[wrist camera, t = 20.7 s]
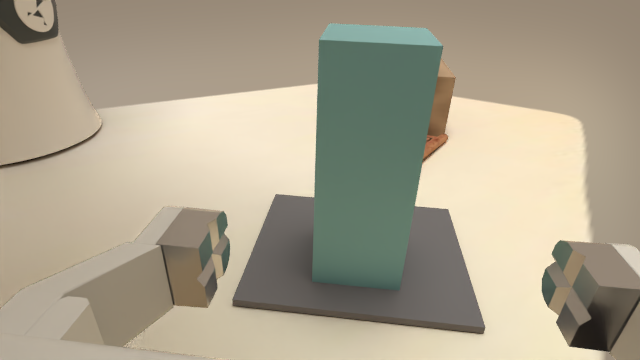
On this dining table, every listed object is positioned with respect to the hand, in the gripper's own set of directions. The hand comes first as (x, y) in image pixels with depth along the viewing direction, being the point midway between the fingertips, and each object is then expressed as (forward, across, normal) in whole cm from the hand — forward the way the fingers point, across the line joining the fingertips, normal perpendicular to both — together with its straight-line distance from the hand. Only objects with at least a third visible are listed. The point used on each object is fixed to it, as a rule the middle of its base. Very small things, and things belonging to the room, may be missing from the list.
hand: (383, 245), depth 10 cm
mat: (+10, 0, +9) cm, 14 cm away
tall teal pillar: (+9, 0, +8) cm, 13 cm away
